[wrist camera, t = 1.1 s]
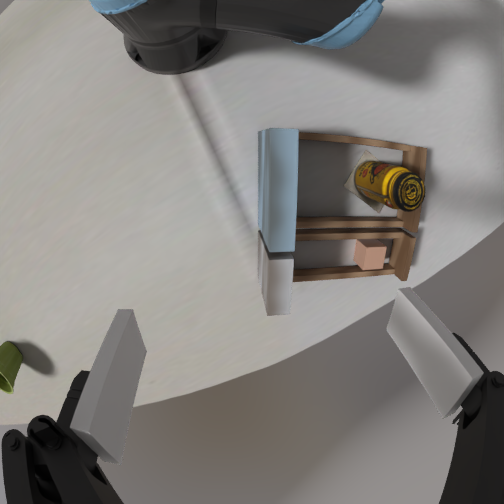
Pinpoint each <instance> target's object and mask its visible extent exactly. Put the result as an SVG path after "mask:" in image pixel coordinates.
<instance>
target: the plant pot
mask: <svg viewBox="0 0 504 504" xmlns="http://www.w3.org/2000/svg"><path fill="white" fill-rule="evenodd" d="M22 361H23V357H22V354H21V353H20V352H19V351H18V349H17V347H16V346H15V345H13V344H12V343H10V342H4V343H3V344H2V345H1V346H0V390H2V391H4V392H6V393H8V394H12V393H13V386H14V382H15V379H16V376H17V373H18V371H19V368H20V366H21V363H22Z"/></svg>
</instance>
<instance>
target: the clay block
mask: <svg viewBox="0 0 504 504" xmlns="http://www.w3.org/2000/svg"><path fill="white" fill-rule="evenodd" d="M386 248H387V247H386V246H385V245H384V244H382V243H381V242H380V241H378V240H377V239H356V246H355V253H354V261H355V262H356V263H357V264H358V266H359V267H360V268H361V269H362V270H371V269H383V264H384V259H385V254H386Z"/></svg>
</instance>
